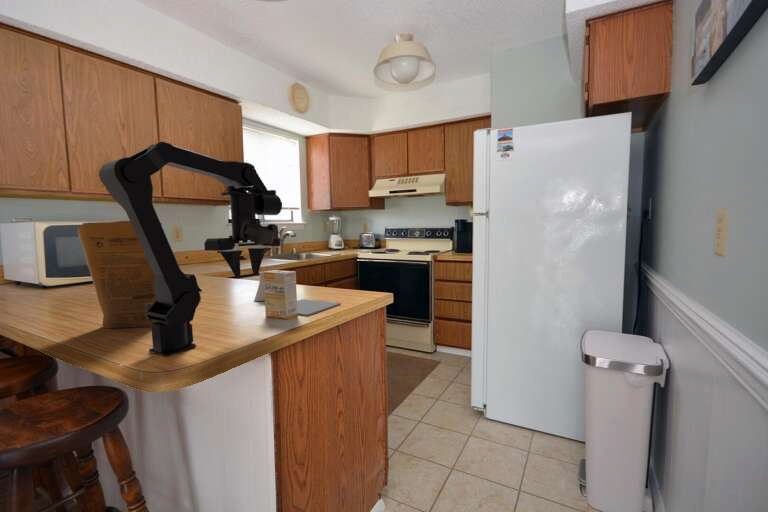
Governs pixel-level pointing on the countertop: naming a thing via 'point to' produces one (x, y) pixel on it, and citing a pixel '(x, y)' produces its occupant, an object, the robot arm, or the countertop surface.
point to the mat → (313, 306)
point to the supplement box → (280, 294)
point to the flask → (260, 289)
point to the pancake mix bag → (119, 273)
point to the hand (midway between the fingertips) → (247, 276)
